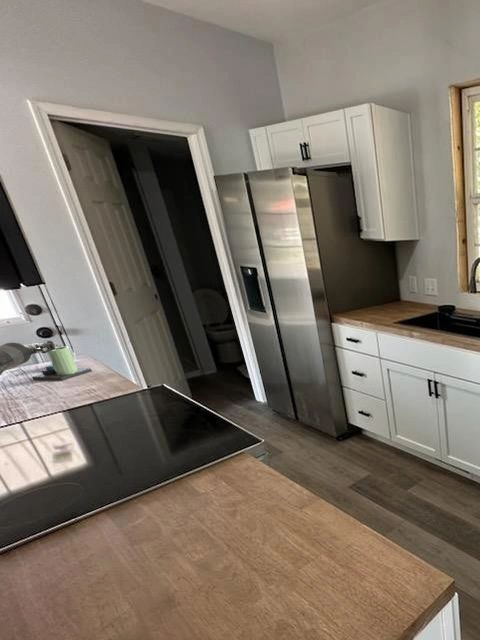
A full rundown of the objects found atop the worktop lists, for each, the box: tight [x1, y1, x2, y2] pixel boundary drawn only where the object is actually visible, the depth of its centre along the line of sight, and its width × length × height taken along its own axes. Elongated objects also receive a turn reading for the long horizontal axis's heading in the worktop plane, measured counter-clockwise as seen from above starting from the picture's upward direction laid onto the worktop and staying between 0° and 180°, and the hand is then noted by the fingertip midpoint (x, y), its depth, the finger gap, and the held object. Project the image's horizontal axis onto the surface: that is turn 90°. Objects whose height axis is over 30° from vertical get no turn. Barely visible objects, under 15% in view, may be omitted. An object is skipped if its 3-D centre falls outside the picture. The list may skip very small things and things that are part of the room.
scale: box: [31, 367, 93, 382], centre depth 165 cm, size 13×11×3 cm
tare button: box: [45, 364, 54, 370], centre depth 164 cm, size 3×3×2 cm
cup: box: [46, 346, 78, 375], centre depth 163 cm, size 6×6×10 cm
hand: (35, 344), depth 150 cm, fingers open, 8 cm apart
